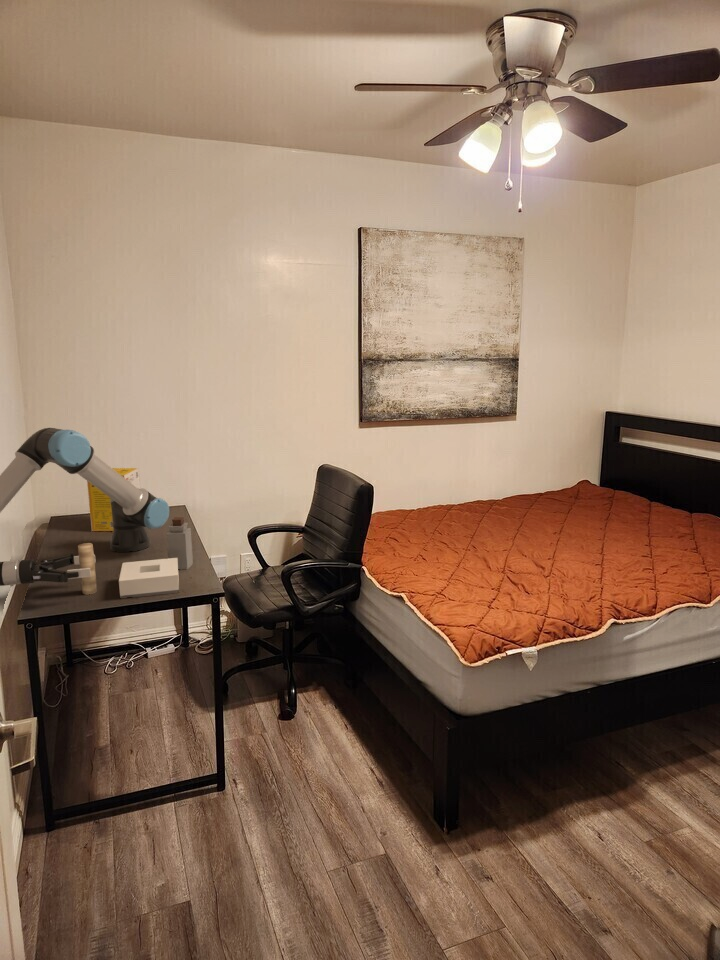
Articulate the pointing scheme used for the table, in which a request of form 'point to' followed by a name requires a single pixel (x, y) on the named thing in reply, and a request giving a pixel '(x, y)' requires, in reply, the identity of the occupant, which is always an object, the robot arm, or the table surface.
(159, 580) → the socket block
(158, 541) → the table surface
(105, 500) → the packaging box
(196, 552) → the table surface
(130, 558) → the table surface
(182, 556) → the perfume bottle
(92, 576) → the birch peg
